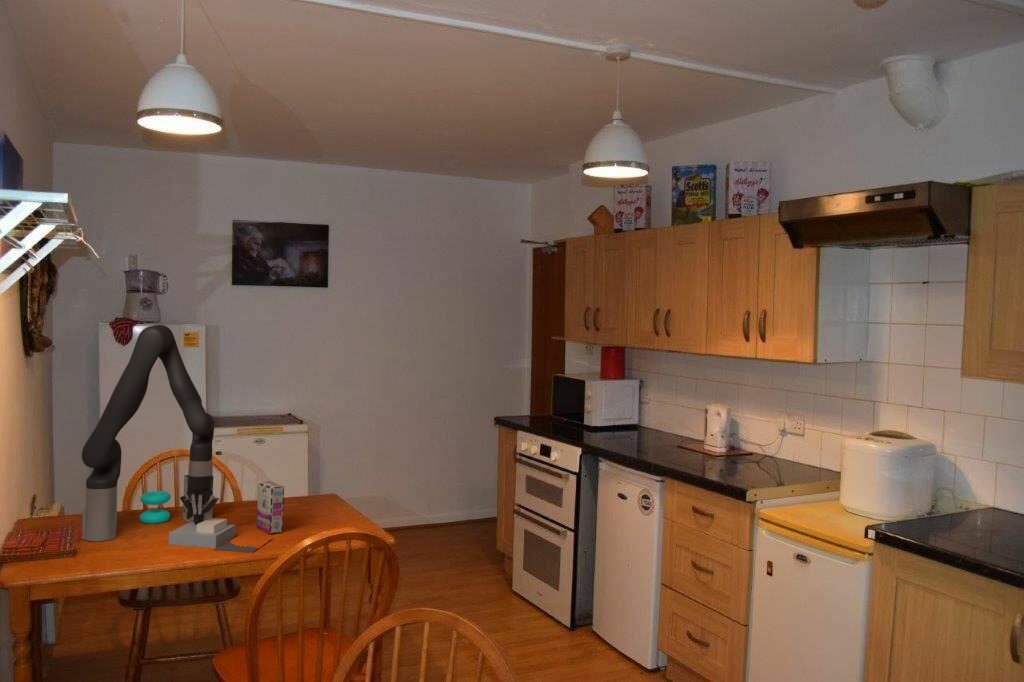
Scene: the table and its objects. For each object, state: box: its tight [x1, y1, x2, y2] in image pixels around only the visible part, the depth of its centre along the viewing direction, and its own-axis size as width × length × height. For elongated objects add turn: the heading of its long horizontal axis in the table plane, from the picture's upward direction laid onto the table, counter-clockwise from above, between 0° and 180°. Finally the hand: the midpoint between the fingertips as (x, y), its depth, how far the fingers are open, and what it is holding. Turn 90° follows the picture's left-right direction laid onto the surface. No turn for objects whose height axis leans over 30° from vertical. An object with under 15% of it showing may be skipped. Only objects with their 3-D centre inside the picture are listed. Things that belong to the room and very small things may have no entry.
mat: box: [213, 539, 258, 553], centre depth 262 cm, size 13×16×1 cm
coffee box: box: [182, 474, 214, 523], centre depth 290 cm, size 9×6×16 cm
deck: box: [168, 521, 236, 549], centre depth 264 cm, size 16×14×4 cm
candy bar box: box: [256, 480, 285, 535], centre depth 279 cm, size 11×5×16 cm, turn 42°
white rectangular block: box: [196, 517, 228, 533], centre depth 264 cm, size 6×9×2 cm, turn 173°
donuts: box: [139, 490, 172, 524], centre depth 286 cm, size 10×10×10 cm
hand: (198, 524), depth 264 cm, fingers closed
